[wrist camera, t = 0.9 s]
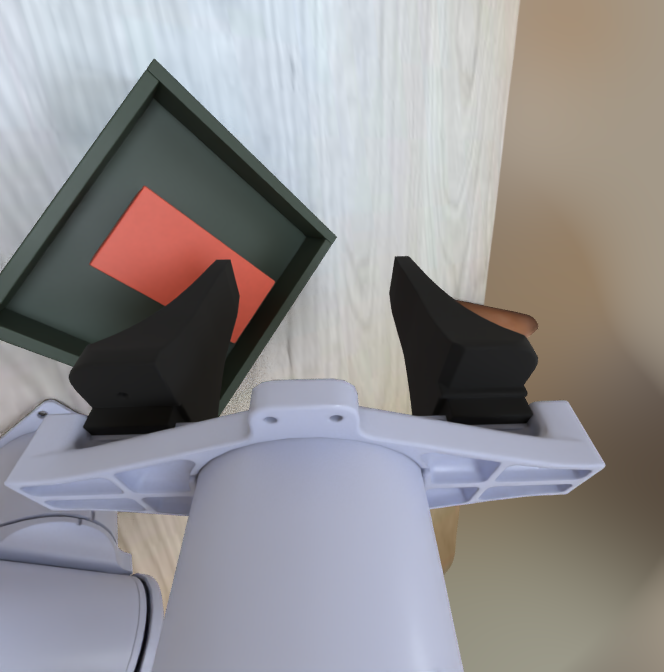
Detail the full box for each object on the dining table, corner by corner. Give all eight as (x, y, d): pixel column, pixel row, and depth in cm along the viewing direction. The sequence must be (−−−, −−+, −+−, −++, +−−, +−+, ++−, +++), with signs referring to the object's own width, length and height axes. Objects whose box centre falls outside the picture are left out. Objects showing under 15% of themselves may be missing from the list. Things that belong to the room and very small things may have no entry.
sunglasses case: (421, 367, 40) (471, 356, 35) (412, 311, 42) (458, 292, 37) (503, 367, 50) (551, 359, 45) (493, 322, 52) (538, 309, 47)
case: (218, 326, 26) (234, 344, 23) (92, 256, 21) (88, 265, 17) (254, 272, 27) (276, 281, 23) (139, 189, 21) (144, 184, 18)
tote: (206, 398, 28) (217, 420, 25) (-15, 309, 19) (-39, 326, 16) (314, 234, 29) (337, 237, 26) (148, 81, 20) (154, 57, 17)
